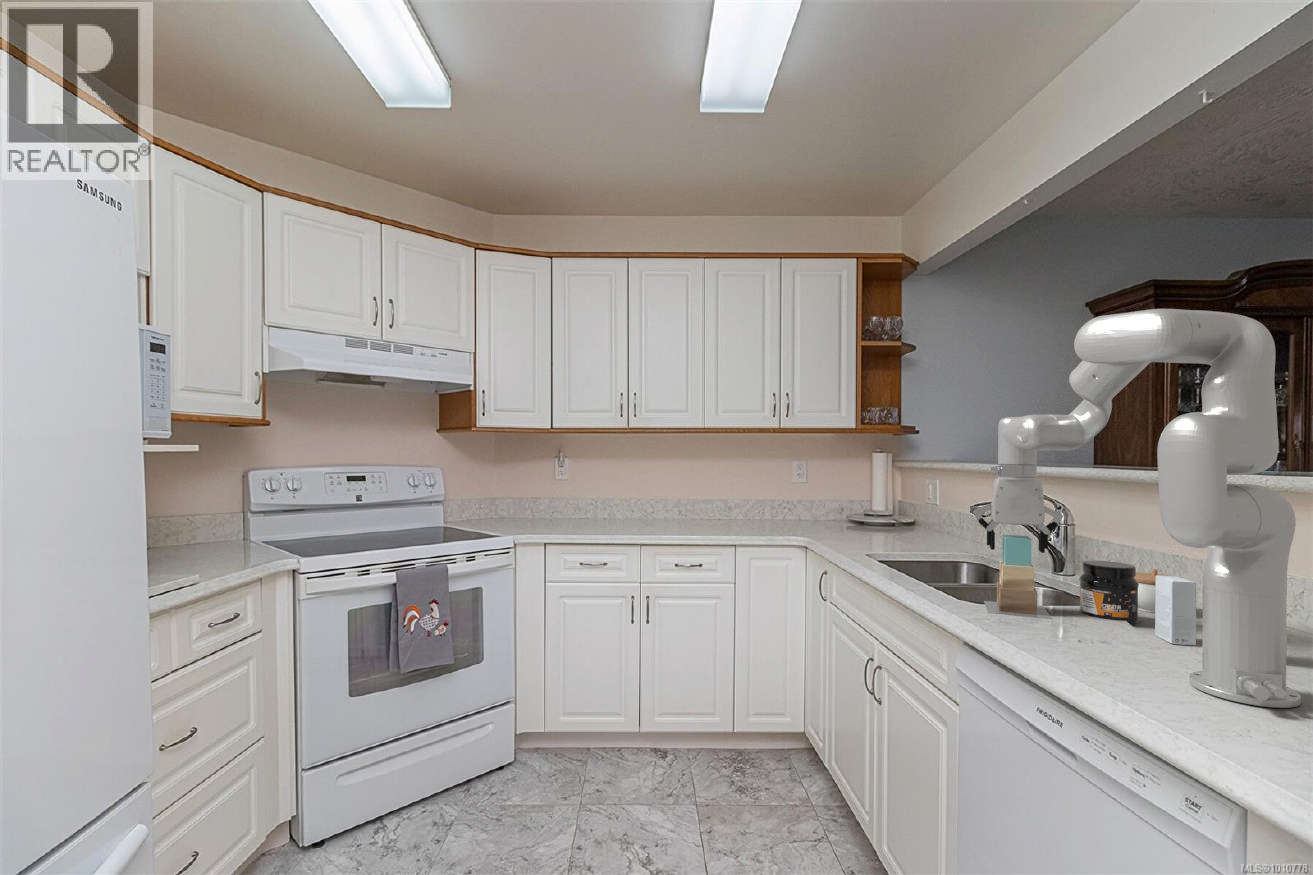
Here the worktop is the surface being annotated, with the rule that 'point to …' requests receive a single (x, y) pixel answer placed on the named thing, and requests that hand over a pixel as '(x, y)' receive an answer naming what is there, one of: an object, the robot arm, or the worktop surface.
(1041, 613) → the slate board
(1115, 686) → the worktop surface
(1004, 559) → the teal block
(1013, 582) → the oak mid block
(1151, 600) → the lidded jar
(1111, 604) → the supplement container
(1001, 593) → the walnut base block
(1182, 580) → the skincare box
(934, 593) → the worktop surface
